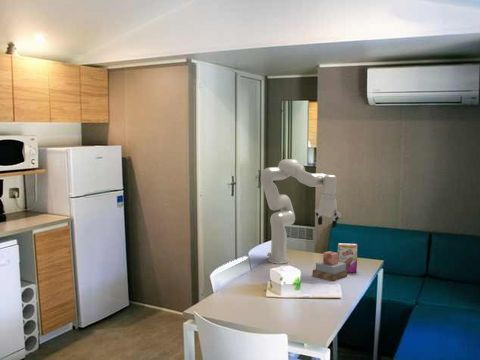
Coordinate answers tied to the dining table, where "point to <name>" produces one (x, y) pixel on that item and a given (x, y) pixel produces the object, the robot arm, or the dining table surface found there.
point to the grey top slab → (331, 267)
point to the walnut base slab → (329, 275)
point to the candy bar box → (348, 256)
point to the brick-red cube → (330, 258)
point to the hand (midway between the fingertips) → (327, 226)
